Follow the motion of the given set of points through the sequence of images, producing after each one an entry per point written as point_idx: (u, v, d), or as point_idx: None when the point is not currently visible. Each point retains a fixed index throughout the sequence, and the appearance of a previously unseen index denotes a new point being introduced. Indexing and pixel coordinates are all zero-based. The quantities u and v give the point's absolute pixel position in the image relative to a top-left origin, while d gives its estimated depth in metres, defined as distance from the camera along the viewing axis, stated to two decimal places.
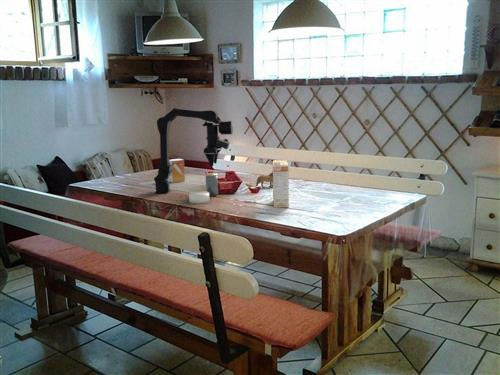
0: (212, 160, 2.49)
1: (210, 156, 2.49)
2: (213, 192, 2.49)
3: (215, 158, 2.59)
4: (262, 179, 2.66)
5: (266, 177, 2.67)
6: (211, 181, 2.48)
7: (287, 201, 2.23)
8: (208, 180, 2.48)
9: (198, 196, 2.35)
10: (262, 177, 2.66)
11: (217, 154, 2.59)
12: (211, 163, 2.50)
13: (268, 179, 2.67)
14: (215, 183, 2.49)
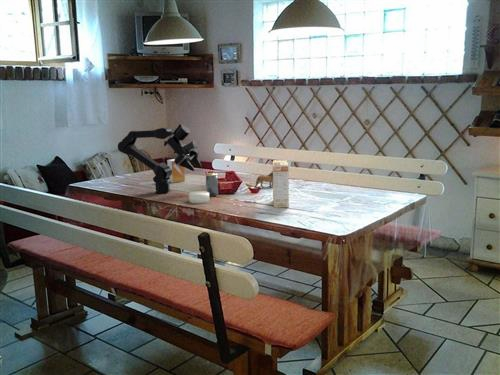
0: (189, 165, 2.47)
1: (185, 163, 2.47)
2: (213, 192, 2.49)
3: (198, 163, 2.57)
4: (262, 179, 2.66)
5: (266, 177, 2.67)
6: (211, 181, 2.48)
7: (287, 201, 2.23)
8: (208, 180, 2.48)
9: (198, 196, 2.35)
10: (262, 177, 2.66)
11: (197, 159, 2.57)
12: (191, 168, 2.48)
13: (268, 179, 2.67)
14: (215, 183, 2.49)
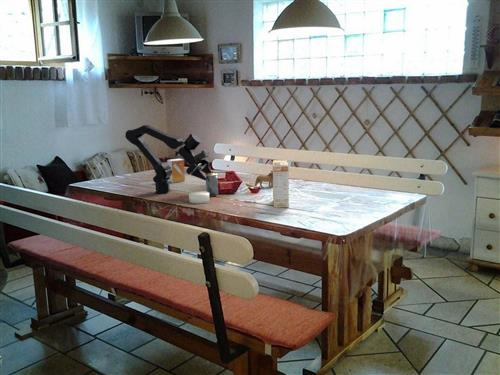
0: (201, 175, 2.46)
1: (197, 173, 2.46)
2: (213, 192, 2.49)
3: (209, 172, 2.55)
4: (261, 179, 2.66)
5: (265, 177, 2.67)
6: (211, 181, 2.48)
7: (287, 201, 2.23)
8: (208, 180, 2.48)
9: (198, 196, 2.35)
10: (261, 177, 2.66)
11: (208, 168, 2.55)
12: (203, 178, 2.46)
13: (267, 179, 2.67)
14: (215, 183, 2.49)
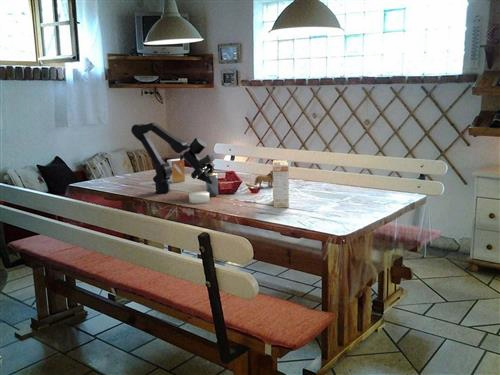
0: (207, 178, 2.47)
1: (203, 177, 2.47)
2: (213, 192, 2.49)
3: None
4: (260, 179, 2.66)
5: (264, 177, 2.66)
6: None
7: (287, 201, 2.23)
8: None
9: (198, 196, 2.35)
10: (260, 177, 2.66)
11: (212, 172, 2.54)
12: (209, 181, 2.47)
13: (266, 179, 2.67)
14: (215, 183, 2.49)
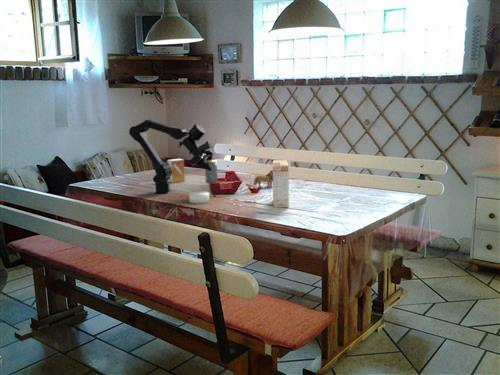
0: (206, 165, 2.45)
1: (202, 163, 2.46)
2: (212, 179, 2.48)
3: None
4: (259, 179, 2.66)
5: (263, 177, 2.66)
6: None
7: (287, 201, 2.23)
8: None
9: (198, 196, 2.35)
10: (259, 177, 2.66)
11: (211, 159, 2.52)
12: (208, 168, 2.46)
13: (265, 179, 2.67)
14: (214, 170, 2.47)
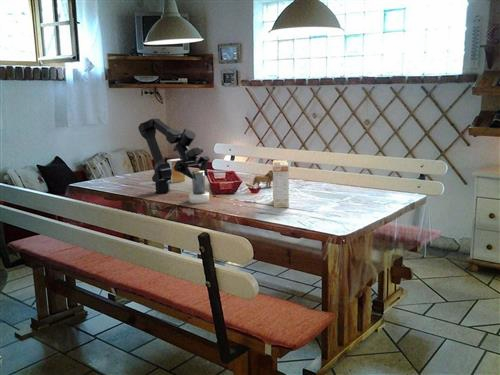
0: (188, 172, 2.34)
1: (185, 170, 2.35)
2: (197, 191, 2.36)
3: None
4: (258, 179, 2.65)
5: (262, 177, 2.66)
6: (195, 179, 2.35)
7: (287, 201, 2.23)
8: (193, 177, 2.36)
9: (198, 196, 2.35)
10: (258, 177, 2.65)
11: (204, 166, 2.41)
12: (189, 176, 2.34)
13: (264, 179, 2.66)
14: (199, 181, 2.35)
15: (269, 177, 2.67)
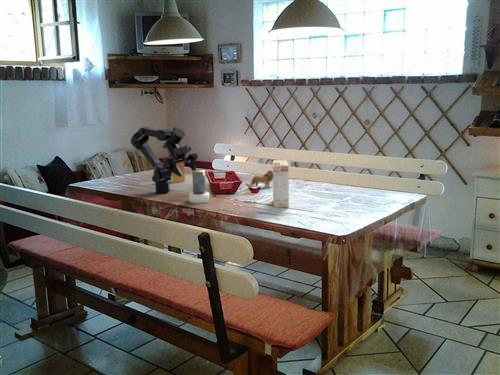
0: (176, 171, 2.40)
1: (173, 168, 2.42)
2: (197, 190, 2.36)
3: (193, 168, 2.47)
4: (257, 180, 2.65)
5: (261, 178, 2.66)
6: (195, 178, 2.36)
7: (287, 201, 2.23)
8: (193, 177, 2.37)
9: (198, 196, 2.35)
10: (257, 178, 2.65)
11: (192, 163, 2.47)
12: (178, 174, 2.41)
13: (263, 180, 2.66)
14: (199, 180, 2.36)
15: (268, 177, 2.66)
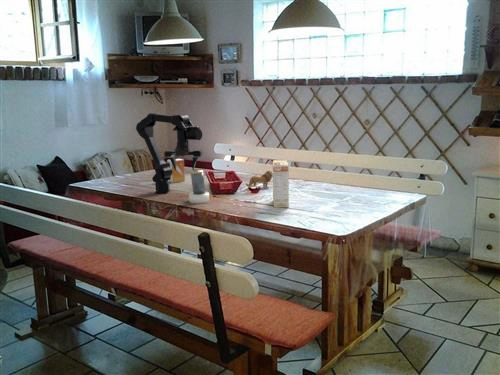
0: None
1: None
2: (196, 191, 2.36)
3: None
4: (255, 180, 2.64)
5: (259, 178, 2.65)
6: (193, 179, 2.35)
7: (287, 201, 2.23)
8: (191, 177, 2.36)
9: (198, 196, 2.35)
10: (255, 178, 2.64)
11: None
12: None
13: (261, 180, 2.65)
14: (197, 181, 2.35)
15: (266, 178, 2.65)
